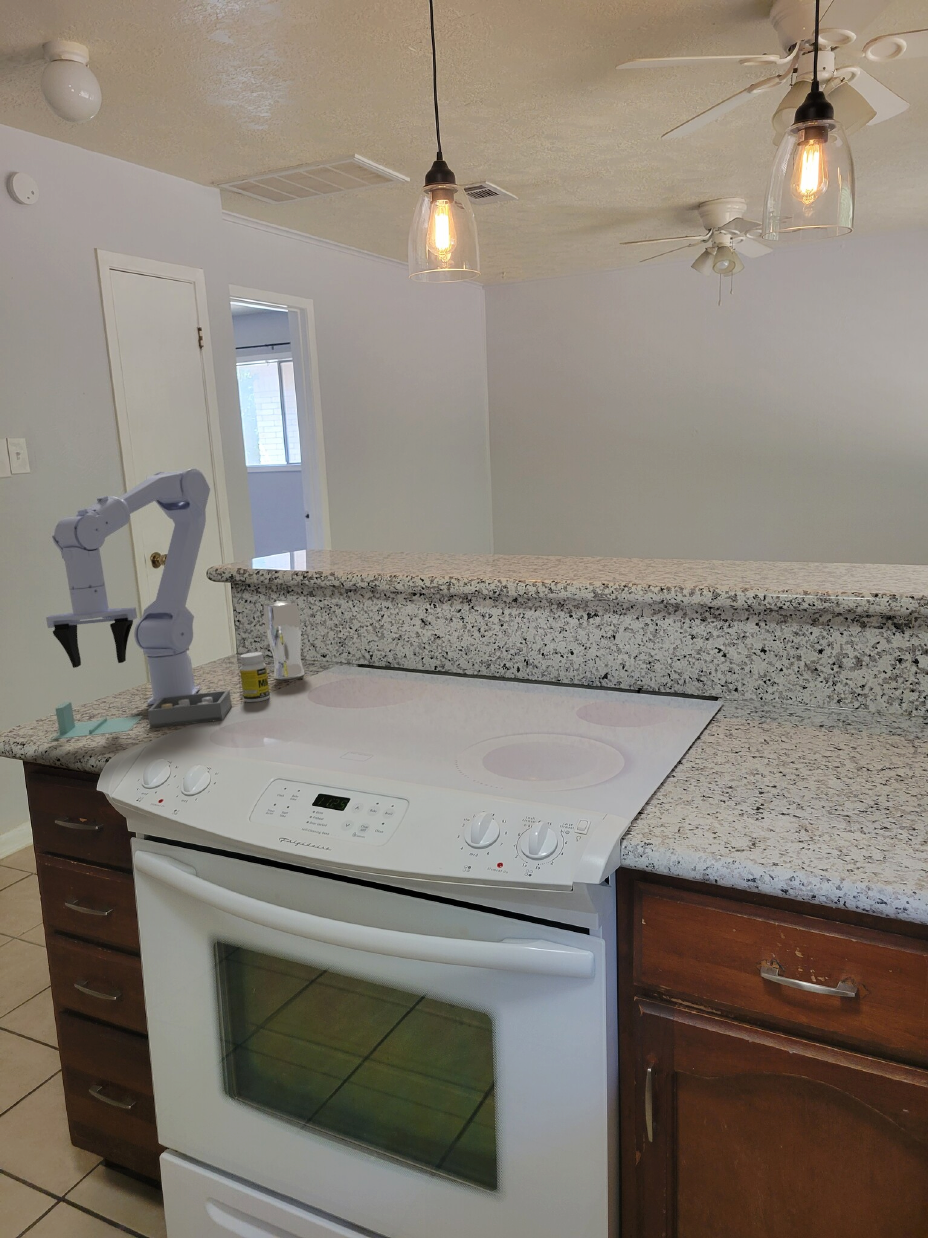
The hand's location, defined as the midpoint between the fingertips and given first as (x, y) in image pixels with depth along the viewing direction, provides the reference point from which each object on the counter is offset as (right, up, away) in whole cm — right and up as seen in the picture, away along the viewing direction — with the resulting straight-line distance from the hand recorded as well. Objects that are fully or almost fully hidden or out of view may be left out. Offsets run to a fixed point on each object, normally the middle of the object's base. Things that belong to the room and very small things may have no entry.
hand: (99, 664), depth 153 cm
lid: (0, -11, -1) cm, 11 cm away
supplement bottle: (+25, -7, +8) cm, 28 cm away
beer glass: (+28, -4, +25) cm, 38 cm away
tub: (+16, -9, 0) cm, 19 cm away
